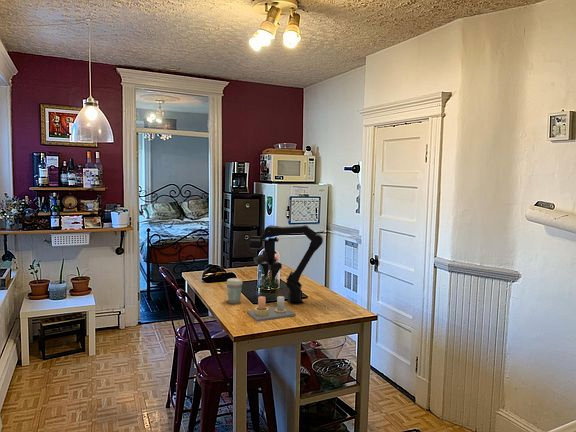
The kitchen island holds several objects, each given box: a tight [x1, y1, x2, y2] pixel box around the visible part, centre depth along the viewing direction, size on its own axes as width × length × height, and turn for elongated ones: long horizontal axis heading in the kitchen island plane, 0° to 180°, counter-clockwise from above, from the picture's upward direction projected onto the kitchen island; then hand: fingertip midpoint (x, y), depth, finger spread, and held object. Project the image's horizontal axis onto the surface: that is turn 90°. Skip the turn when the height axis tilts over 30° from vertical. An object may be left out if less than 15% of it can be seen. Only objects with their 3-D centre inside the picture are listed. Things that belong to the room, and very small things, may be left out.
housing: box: [246, 295, 297, 323], centre depth 209 cm, size 20×13×8 cm, turn 116°
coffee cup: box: [225, 277, 243, 305], centre depth 226 cm, size 8×9×12 cm
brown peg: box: [257, 295, 266, 310], centre depth 207 cm, size 4×4×8 cm
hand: (269, 278), depth 230 cm, fingers open, 9 cm apart
